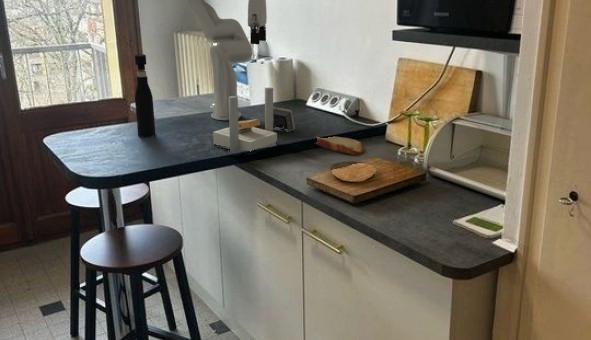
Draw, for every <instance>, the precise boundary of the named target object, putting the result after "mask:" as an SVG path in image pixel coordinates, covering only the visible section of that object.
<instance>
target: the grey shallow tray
mask: <svg viewBox="0 0 591 340" xmlns="http://www.w3.org/2000/svg"><path fill="white" fill-rule="evenodd" d="M238 134H239V149H242V150H247V151H250V152H251V151H252V150H254V149H257V148H260V147H263V146H266V145H269V144H271V143H274V142H276V141H277V142H278V133H277V132H275V131H273V132H271V131H267V130H265V129H263V128H258V127H256V126H255V127H251V128H243V129H238ZM212 136H213V138H212V140H213V145H214V144H216V145H221V146H226V147H230V129H229V127H225V128H222V129H219V130H216V131H213V132H212Z"/></svg>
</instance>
